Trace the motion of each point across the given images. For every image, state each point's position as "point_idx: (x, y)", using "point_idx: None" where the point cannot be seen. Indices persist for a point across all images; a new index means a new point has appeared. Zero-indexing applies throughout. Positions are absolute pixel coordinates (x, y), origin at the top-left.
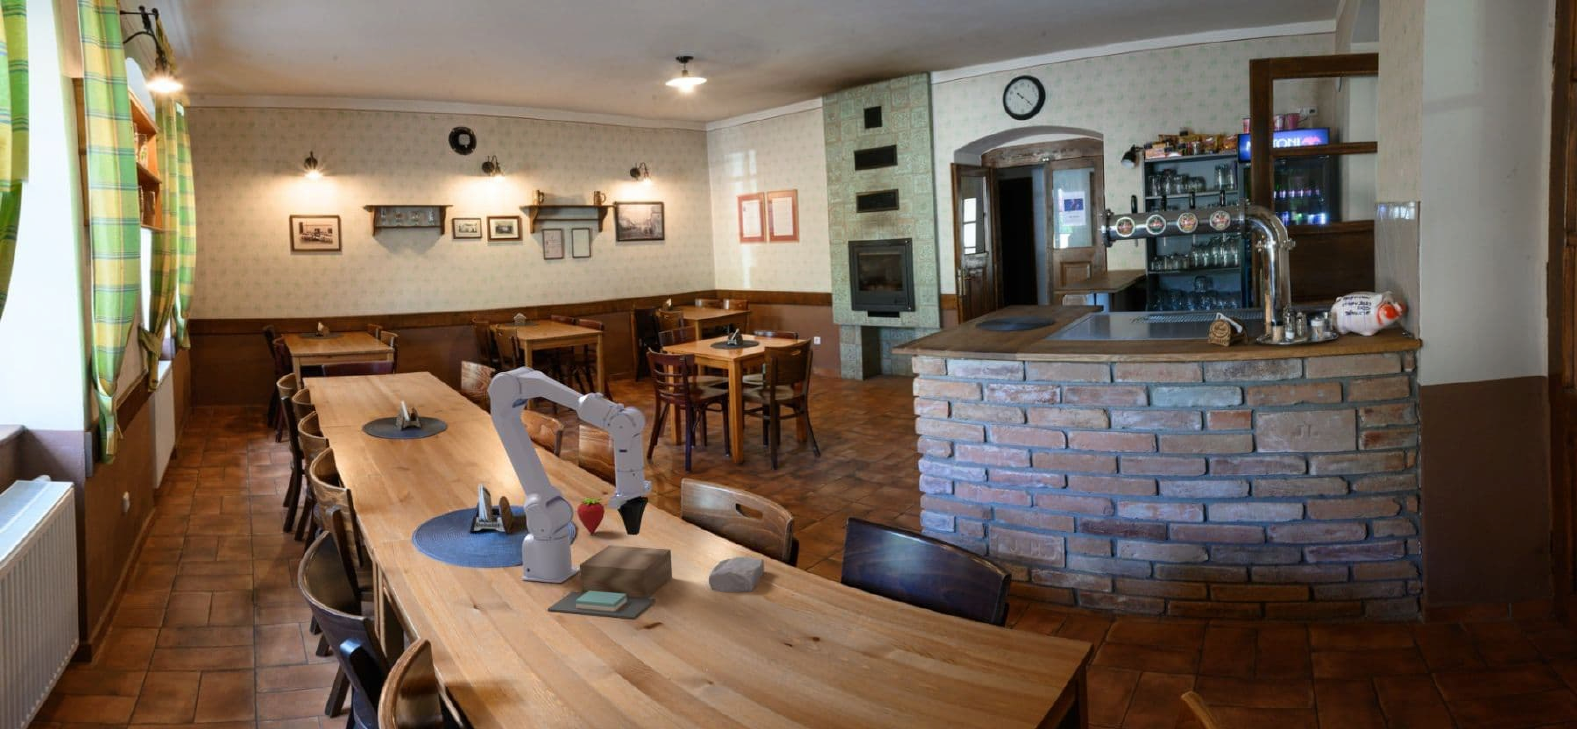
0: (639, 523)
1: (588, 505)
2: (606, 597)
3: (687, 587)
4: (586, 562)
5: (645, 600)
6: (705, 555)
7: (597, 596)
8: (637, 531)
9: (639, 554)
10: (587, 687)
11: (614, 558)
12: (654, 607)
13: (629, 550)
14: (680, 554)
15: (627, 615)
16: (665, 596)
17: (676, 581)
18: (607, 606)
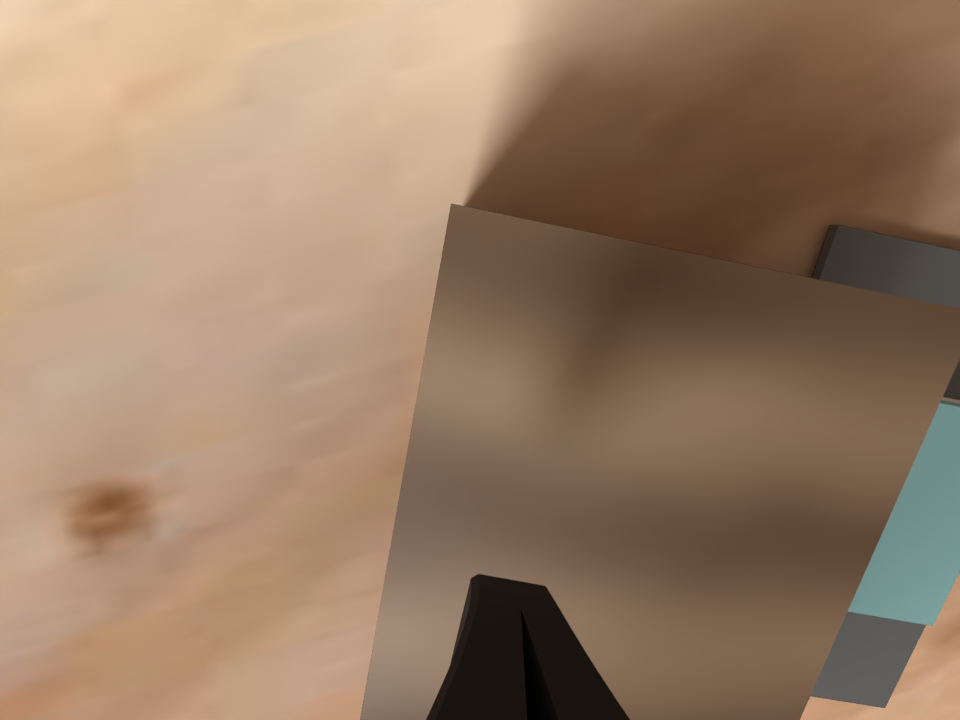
0: (516, 662)
1: None
2: (922, 488)
3: (626, 65)
4: None
5: (859, 277)
6: (2, 71)
7: (900, 538)
8: (542, 601)
9: (579, 453)
10: None
11: (664, 610)
12: (930, 204)
13: (477, 555)
14: (23, 263)
15: None
16: (766, 179)
17: (518, 169)
18: None
